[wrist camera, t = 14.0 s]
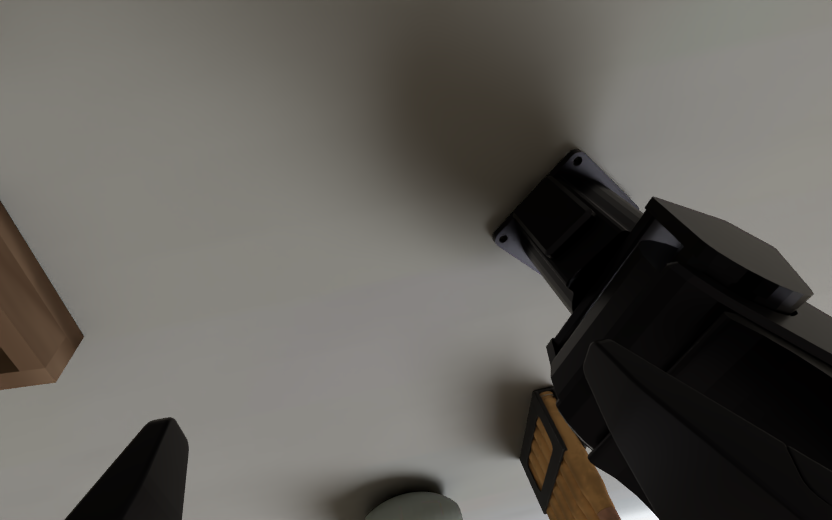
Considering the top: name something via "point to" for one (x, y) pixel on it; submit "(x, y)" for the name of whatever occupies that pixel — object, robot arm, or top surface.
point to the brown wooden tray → (30, 316)
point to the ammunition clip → (561, 466)
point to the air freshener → (417, 508)
